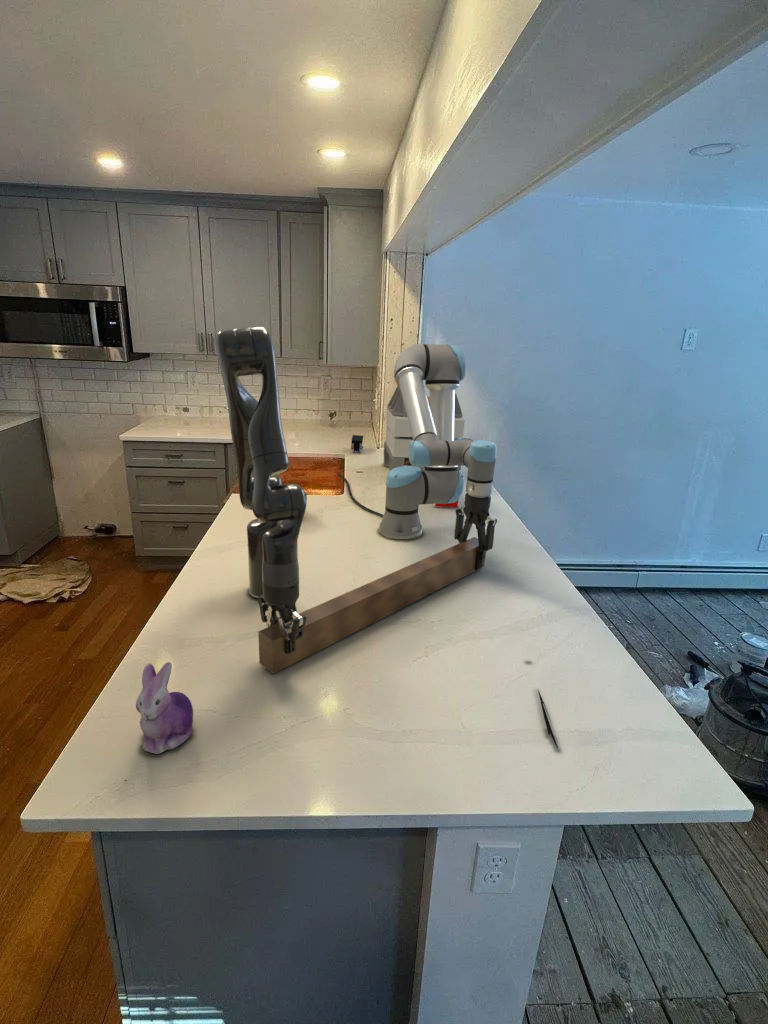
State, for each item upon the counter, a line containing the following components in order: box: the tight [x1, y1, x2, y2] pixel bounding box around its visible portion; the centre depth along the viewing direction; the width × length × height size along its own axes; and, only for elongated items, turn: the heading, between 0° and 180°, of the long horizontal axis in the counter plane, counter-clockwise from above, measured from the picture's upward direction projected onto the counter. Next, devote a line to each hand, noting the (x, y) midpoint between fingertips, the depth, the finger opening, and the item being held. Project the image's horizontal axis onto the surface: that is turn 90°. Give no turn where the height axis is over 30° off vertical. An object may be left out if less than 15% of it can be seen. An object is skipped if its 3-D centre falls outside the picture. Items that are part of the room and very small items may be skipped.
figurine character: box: [350, 434, 364, 454], centre depth 311 cm, size 7×8×15 cm
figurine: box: [135, 661, 194, 755], centre depth 100 cm, size 9×10×15 cm
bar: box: [258, 536, 487, 675], centre depth 148 cm, size 80×5×8 cm, turn 137°
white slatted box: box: [383, 385, 465, 472], centre depth 268 cm, size 34×33×41 cm
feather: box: [528, 660, 560, 749], centre depth 116 cm, size 2×28×2 cm
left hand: (282, 646), depth 123 cm, fingers closed on bar, 5 cm apart
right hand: (470, 565), depth 174 cm, fingers closed on bar, 5 cm apart
